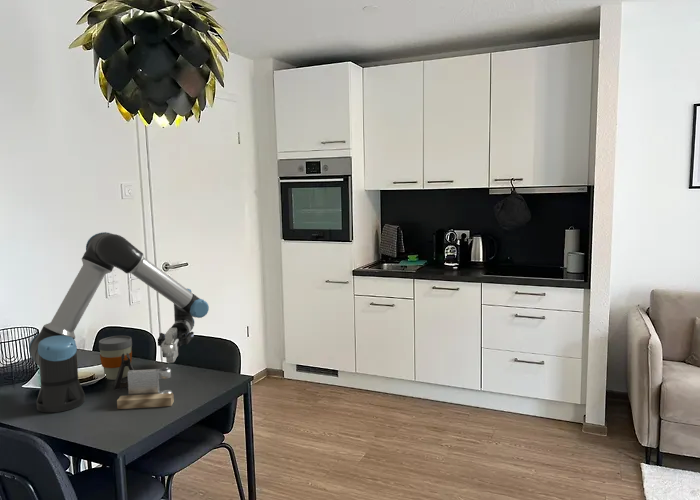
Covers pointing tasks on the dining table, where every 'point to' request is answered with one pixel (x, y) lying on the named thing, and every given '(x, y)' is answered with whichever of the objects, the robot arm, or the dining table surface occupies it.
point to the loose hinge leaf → (170, 346)
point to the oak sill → (145, 401)
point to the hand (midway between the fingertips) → (168, 347)
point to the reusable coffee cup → (114, 354)
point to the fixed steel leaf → (147, 381)
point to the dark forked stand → (120, 373)
